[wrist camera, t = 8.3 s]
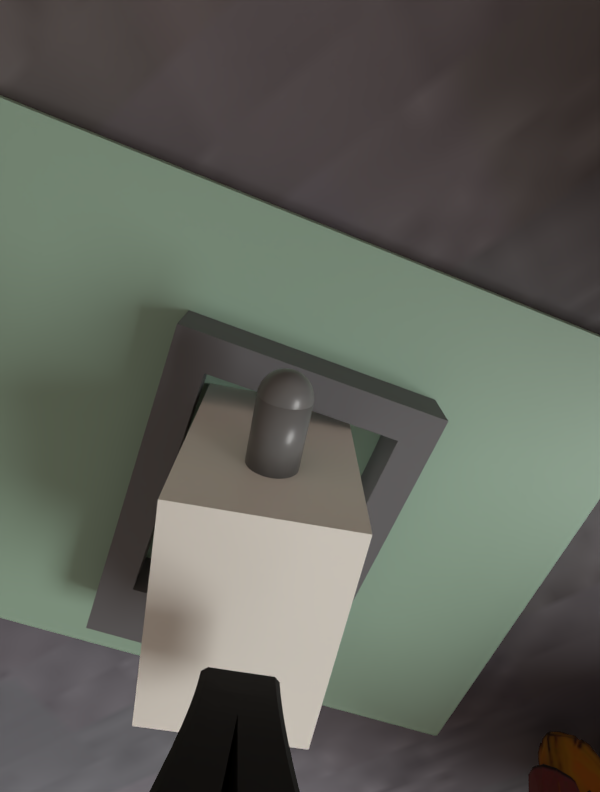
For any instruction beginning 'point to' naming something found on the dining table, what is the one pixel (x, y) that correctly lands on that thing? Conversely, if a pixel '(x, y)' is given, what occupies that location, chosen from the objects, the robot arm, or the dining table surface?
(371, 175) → the dining table surface
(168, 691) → the plug
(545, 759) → the mug
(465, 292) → the board
